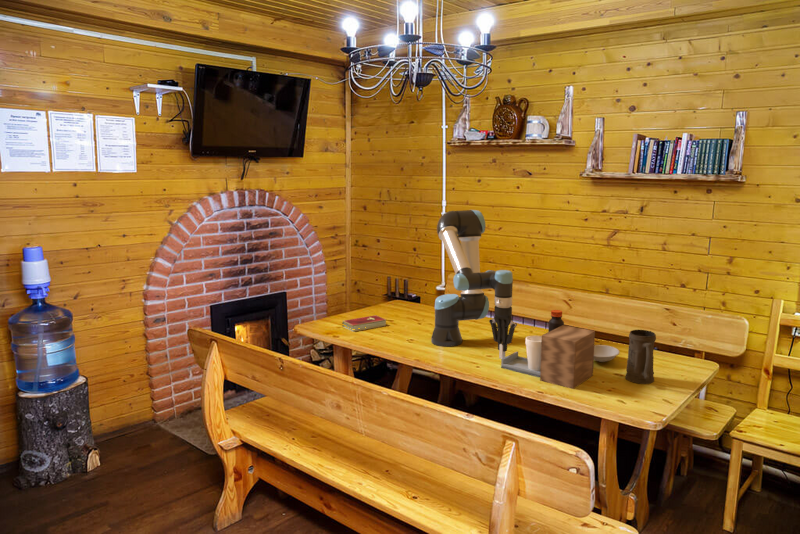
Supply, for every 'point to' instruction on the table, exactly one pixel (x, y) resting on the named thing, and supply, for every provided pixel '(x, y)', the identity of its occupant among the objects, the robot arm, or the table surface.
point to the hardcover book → (364, 323)
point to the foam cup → (534, 352)
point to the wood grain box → (567, 356)
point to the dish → (604, 353)
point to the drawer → (518, 364)
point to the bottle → (555, 320)
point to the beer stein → (640, 357)
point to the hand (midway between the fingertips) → (502, 357)
